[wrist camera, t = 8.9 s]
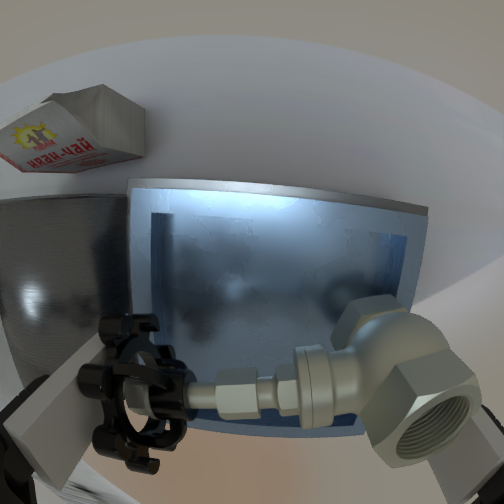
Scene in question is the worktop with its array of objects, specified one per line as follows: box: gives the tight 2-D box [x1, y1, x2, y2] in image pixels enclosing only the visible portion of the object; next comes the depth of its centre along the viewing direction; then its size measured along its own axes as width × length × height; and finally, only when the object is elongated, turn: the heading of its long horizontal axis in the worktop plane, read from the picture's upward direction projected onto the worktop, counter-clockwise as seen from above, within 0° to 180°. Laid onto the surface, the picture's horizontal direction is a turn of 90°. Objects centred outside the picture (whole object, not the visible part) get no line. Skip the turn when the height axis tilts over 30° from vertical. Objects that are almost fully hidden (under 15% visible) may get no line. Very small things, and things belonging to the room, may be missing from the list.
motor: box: [0, 178, 428, 438], centre depth 15 cm, size 26×17×10 cm, turn 85°
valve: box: [77, 294, 482, 475], centre depth 9 cm, size 7×7×12 cm
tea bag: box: [0, 84, 145, 173], centre depth 13 cm, size 4×7×10 cm, turn 94°
